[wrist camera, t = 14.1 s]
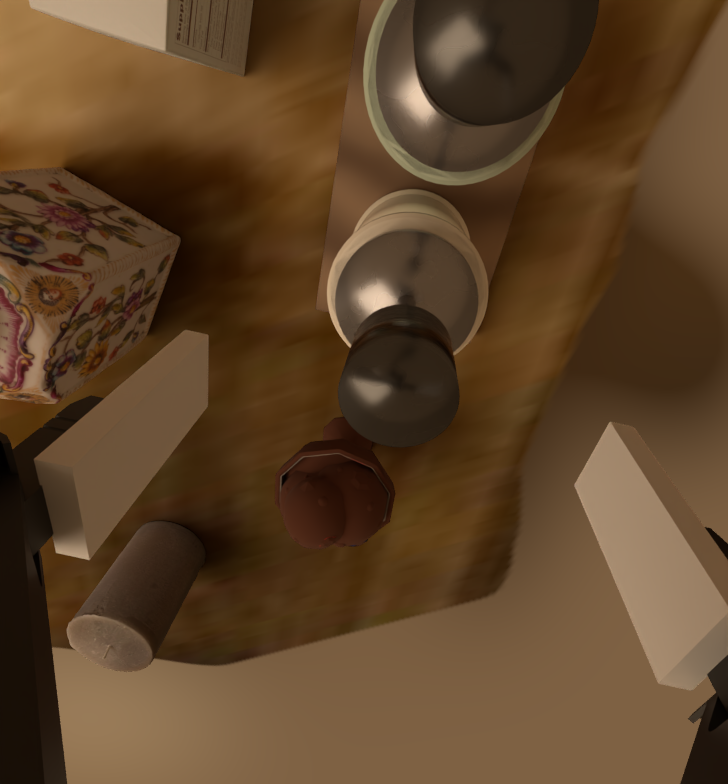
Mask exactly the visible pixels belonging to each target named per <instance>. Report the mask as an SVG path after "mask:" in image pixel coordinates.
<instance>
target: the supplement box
mask: <svg viewBox="0 0 728 784" xmlns="http://www.w3.org/2000/svg"><path fill="white" fill-rule="evenodd" d="M29 3H30V6H31V8H33V9H35V10H37V11H40V12H42V13H45V14H48V15H50V16H53V17H56V18H58V19H61V20H64V21H67V22H69V23H72V24H75V25H78V26H80V27H83V28H86V29H89V30H92V31H94V32H97V33H100V34H103V35H106V36H109V37H112V38H115V39H118V40H122V41H125V42H128V43H131V44H134V45H137V46H140V47H144V48H147V49H150V50H154V51H157V52H160V53H164V54H167V55H170V56H174V57H177V58H180V59H184V60H187V61H191V62H194V63H197V64H201V65H204V66H208V67H211V68H215V69H218V70H222V71H225V72H229V73H232V74H236V75H239V76H242V77H244V75H245V65H246V58H247V49H248V41H249V33H250V25H251V16H252V8H253V0H29Z"/></svg>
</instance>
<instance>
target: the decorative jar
mask: <svg viewBox="0 0 728 784" xmlns="http://www.w3.org/2000/svg"><path fill="white" fill-rule="evenodd" d="M180 242H181V239H180V237H179V236H177V235H175V234H173V233H172V232H170V231H168V230H167V229H164V228H163V227H161V226H160V225H158V224H156V223H155V222H153V221H152V220H150V219H148V218H146V217H145V216H143V215H142V214H140V213H138V212H136V211H135V210H133V209H132V208H130V207H128V206H126V205H124V204H123V203H121V202H119V201H118V200H116V199H114V198H113V197H111V196H109V195H108V194H107V193H105V192H103V191H101V190H100V189H98V188H96V187H94V186H93V185H91V184H89V183H87V182H86V181H84V180H82V179H80V178H78V177H77V176H75V175H73V174H72V173H70V172H68V171H66V170H65V169H63V168H61V167H57V168H44V169H43V168H41V169H26V170H16V171H14V170H12V171H2V172H0V398H2V399H11V400H18V401H25V402H31V403H45V404H55V403H58V402H60V401H61V400H63V399H64V398H66V397H67V396H69V395H70V394H72V393H73V392H74V391H76V390H77V389H79V388H81V387H82V386H83V385H84V384H86V383H87V382H88V381H90V380H91V379H92V378H94V377H95V376H96V375H98V374H99V373H100V372H102V371H103V370H104V369H106V368H107V367H108V366H110V365H111V364H113V363H114V362H116V361H117V360H118V359H120V358H121V357H122V356H124V355H125V354H126V353H128V352H129V351H130V350H131V349H132V348H134V347H135V346H136V345H137V344H138V343H140V342H141V341H142V340H143V339H144V338H145V337H146V335H147V333H148V331H149V328H150V325H151V322H152V319H153V316H154V313H155V311H156V308H157V305H158V302H159V300H160V297H161V294H162V292H163V289H164V286H165V283H166V281H167V278H168V275H169V272H170V269H171V266H172V263H173V261H174V258H175V255H176V253H177V250H178V247H179V245H180Z"/></svg>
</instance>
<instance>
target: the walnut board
mask: <svg viewBox="0 0 728 784" xmlns="http://www.w3.org/2000/svg"><path fill="white" fill-rule="evenodd" d="M383 1H384V0H360V7H359V14H358V21H357V28H356V34H355V41H354V48H353V55H352V62H351V69H350V76H349V82H348V89H347V96H346V103H345V110H344V117H343V124H342V130H341V137H340V144H339V151H338V158H337V165H336V172H335V178H334V185H333V192H332V199H331V206H330V213H329V220H328V226H327V233H326V240H325V247H324V254H323V261H322V268H321V275H320V281H319V288H318V295H317V302H316V310H321V311H325V312H329V308H328V302H327V284H328V278H329V273H330V270H331V267H332V264H333V262H334V260H335V258H336V256H337V254H338V252H339V251H340V249H341V248H342V246H343V245H344V244H345V242H346V241H347V240H348V239H349V238H350V237H351V236H352V235H353V233H354V230H355V227H356V225H357V223H358V222H359V220H360V218H361V217H362V215H363V214H364V213H365V211H366V210H367V209H368V208H369V207H370V206H371V205H372V204H373V203H374V202H376V201H377V200H378V199H380V198H381V197H383V196H385V195H387V194H389V193H392V192H395V191H398V190H403V189H421V190H426V191H430V192H433V193H435V194H437V195H439V196H441V197H443V198H444V199H446V200H447V201H448V202H450V203H451V204H452V205H453V206H454V207H455V208H456V210H457V211H458V212H459V213H460V215H461V217H462V218H463V220H464V222H465V224H466V226H467V229H468V232H469V236H470V241H471V242H472V243H473V245H474V246H475V248H476V250H477V251H478V253H479V255H480V257H481V259H482V262H483V264H484V267H485V270H486V274H487V280H488V289H489V286H490V283H491V280H492V277H493V274H494V271H495V268H496V265H497V262H498V260H499V257H500V254H501V251H502V248H503V245H504V242H505V239H506V236H507V233H508V230H509V227H510V224H511V221H512V218H513V215H514V212H515V209H516V206H517V203H518V200H519V197H520V194H521V192H522V189H523V186H524V183H525V180H526V177H527V174H528V171H529V168H530V165H531V162H532V159H533V156H534V153H535V150H536V147H537V144H538V141H539V140H538V141H537V142H536V144H535V145H534V146H533V147H532V148H531V149H530V151H529V152H527V153H526V154H525V155H524V156H523V157H522V158H521V159H520V160H519V161H518V162H516V163H515V164H514V165H512V166H511V167H510V168H508V169H506V170H505V171H503V172H501V173H500V174H498V175H496V176H494V177H491V178H489V179H486V180H484V181H480V182H477V183H473V184H466V185H443V184H436V183H433V182H430V181H426V180H424V179H422V178H419V177H417V176H415V175H413V174H412V173H410V172H409V171H407V170H406V169H404V168H403V167H402V166H401V165H400V164H398V163H397V162H396V161H395V160H394V159H393V158H392V157H391V155H390V154H389V153H388V152H387V151H386V149H385V148H384V146H383V145H382V143H381V142H380V140H379V138H378V136H377V134H376V132H375V130H374V128H373V126H372V123H371V120H370V117H369V114H368V110H367V106H366V102H365V94H364V85H363V68H364V58H365V51H366V46H367V42H368V37H369V34H370V31H371V28H372V25H373V22H374V20H375V17H376V15H377V13H378V11H379V8H380V6H381V5H382V3H383ZM470 342H471V340H470ZM470 342H469V344H470Z"/></svg>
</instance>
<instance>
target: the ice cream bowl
mask: <svg viewBox="0 0 728 784" xmlns="http://www.w3.org/2000/svg"><path fill="white" fill-rule="evenodd" d="M371 448H372V441H370V440H369V439H367V438H365V437H363V436H362V435H360V434H359V433H358V432H357V431H356V430H354V429H353V428H352V426H351V425H350V424H349V423H348V422H347V420H346V419H345V417H342V418H334V419H333V420H332V421H331V422H330V423H329V424H328V425H327V426H326V427H324V436H323V441H315V442H310V443H308V444H307V445H305V446H304V447H303V448H302V449H301V450H299V451H298V452H297V453H296V454H295V455H294V456H293V457H292V458H291V459H289V460H288V461H287V462H286V463H285V464H284V465H283V466H282V467H281V468H280V470H279V471H278V472H277V473H276V483H275V504H276V505H277V507H278V508H279V509H280V511H281V514H282V516H283V518H284V524H285V527H286V529H287V531H288V532H289V534H290V536H291V538H292V539H293V540H295V542H297V543H299V544H300V545H301V546H303V547H305V548H310V549H314V548H315V549H323V548H326V547H329V546H330V545H332V544H334V545H336V546H337V547H344V546H359V545H361V544H363V543H365V542H367V540H368V538H370V537H371V536H372V535H374V534H375V533H376V532H377V531H378V530H379V529H381V528H382V527H383V526H385V525H386V524H388V523H389V522H390V518H391V513H392V508H393V502H394V497H395V490H394V486H393V482H392V481H391V479H390V478H389V476H388V474H387V473H386V471H385V470H384V468H383V467H382V465H381V464H380V462H379V461H378V459H377V458H376V456H375V455H374V453H373V452H372V451H370V450H371Z"/></svg>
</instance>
